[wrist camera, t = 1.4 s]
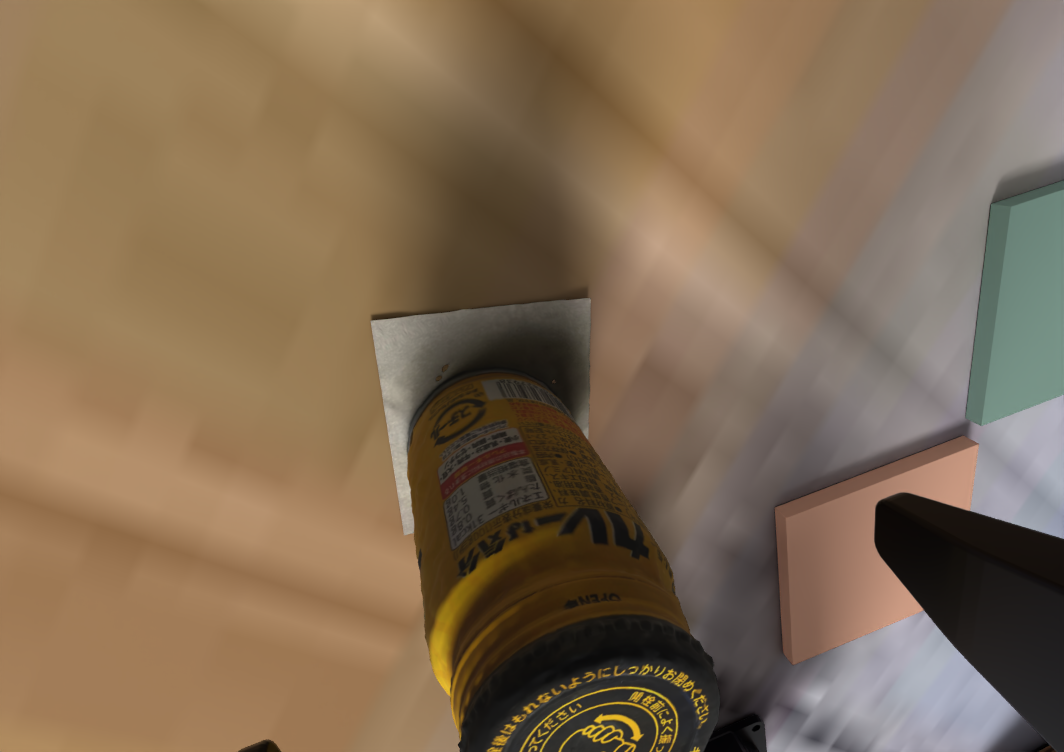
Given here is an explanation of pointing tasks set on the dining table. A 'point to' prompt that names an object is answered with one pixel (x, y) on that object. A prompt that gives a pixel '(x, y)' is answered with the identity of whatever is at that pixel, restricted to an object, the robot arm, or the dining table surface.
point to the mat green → (1020, 307)
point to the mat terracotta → (856, 549)
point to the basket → (1047, 749)
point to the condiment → (533, 542)
